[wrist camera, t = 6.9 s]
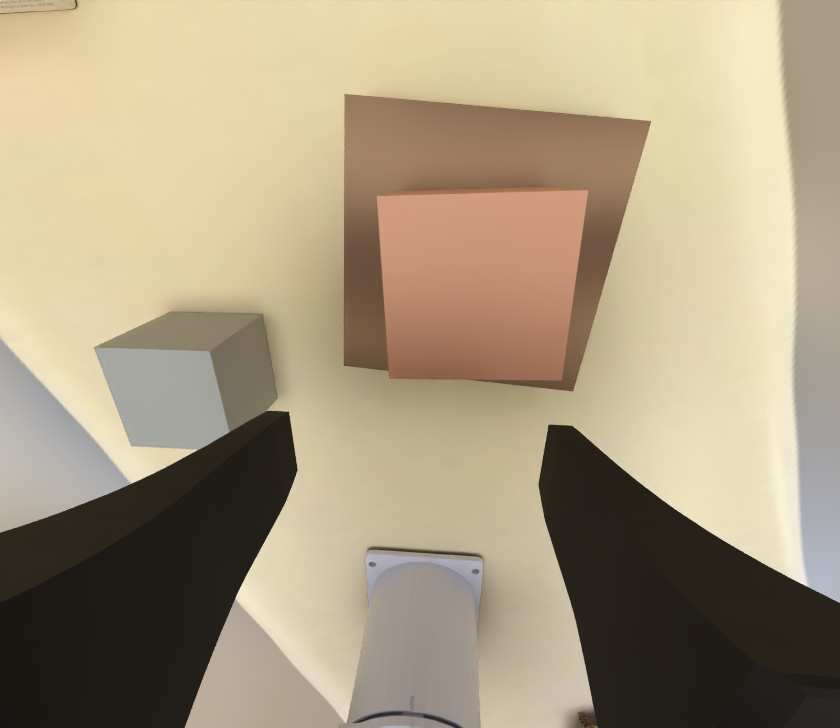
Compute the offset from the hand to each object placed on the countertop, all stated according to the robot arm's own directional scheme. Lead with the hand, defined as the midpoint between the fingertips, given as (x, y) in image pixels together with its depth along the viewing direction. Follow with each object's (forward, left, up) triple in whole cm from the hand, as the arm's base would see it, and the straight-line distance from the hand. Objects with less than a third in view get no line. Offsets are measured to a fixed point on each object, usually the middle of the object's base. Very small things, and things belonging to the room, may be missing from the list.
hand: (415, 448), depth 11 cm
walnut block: (+4, -2, -10) cm, 11 cm away
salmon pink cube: (+4, -2, -6) cm, 8 cm away
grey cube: (-2, +11, -10) cm, 15 cm away
